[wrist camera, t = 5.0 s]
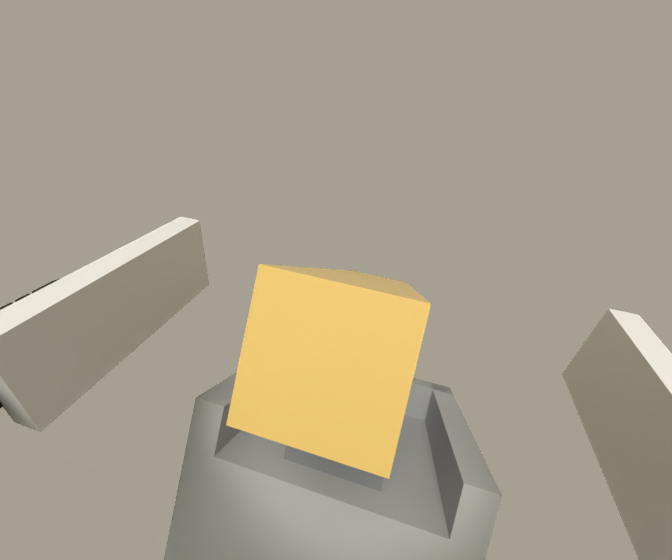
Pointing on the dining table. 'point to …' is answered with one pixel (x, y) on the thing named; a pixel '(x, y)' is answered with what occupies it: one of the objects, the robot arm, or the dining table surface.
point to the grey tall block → (333, 493)
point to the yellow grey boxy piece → (329, 367)
